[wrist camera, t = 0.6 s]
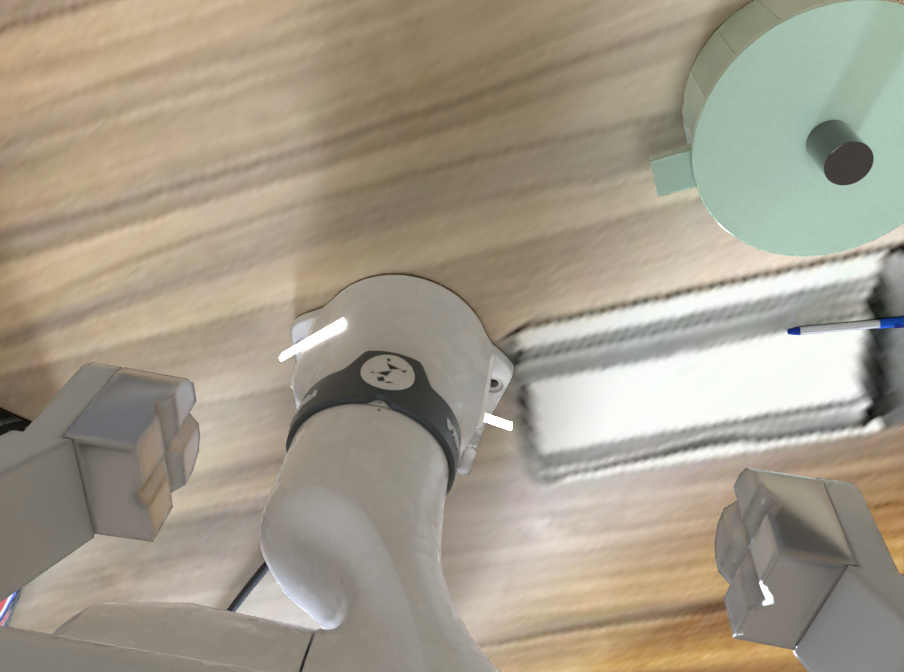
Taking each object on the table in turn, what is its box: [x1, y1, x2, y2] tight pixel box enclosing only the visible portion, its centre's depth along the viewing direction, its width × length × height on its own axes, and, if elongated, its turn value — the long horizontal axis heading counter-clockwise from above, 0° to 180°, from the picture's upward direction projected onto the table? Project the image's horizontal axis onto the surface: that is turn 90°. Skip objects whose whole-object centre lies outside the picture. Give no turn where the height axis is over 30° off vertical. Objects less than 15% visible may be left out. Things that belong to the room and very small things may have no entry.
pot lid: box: [691, 0, 904, 256], centre depth 41 cm, size 15×15×5 cm
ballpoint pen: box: [788, 317, 904, 335], centre depth 57 cm, size 10×1×1 cm, turn 102°
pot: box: [649, 0, 833, 197], centre depth 46 cm, size 14×19×8 cm
